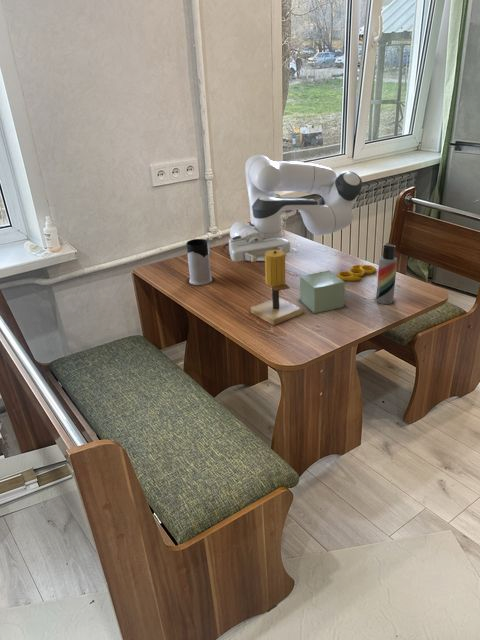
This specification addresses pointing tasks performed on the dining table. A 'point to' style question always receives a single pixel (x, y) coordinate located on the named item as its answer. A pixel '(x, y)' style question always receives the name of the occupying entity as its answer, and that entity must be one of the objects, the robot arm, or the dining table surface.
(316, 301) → the display block
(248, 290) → the dining table surface
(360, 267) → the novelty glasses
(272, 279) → the slatted lidded canister
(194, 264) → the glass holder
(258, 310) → the peg stand
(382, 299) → the lotion bottle
